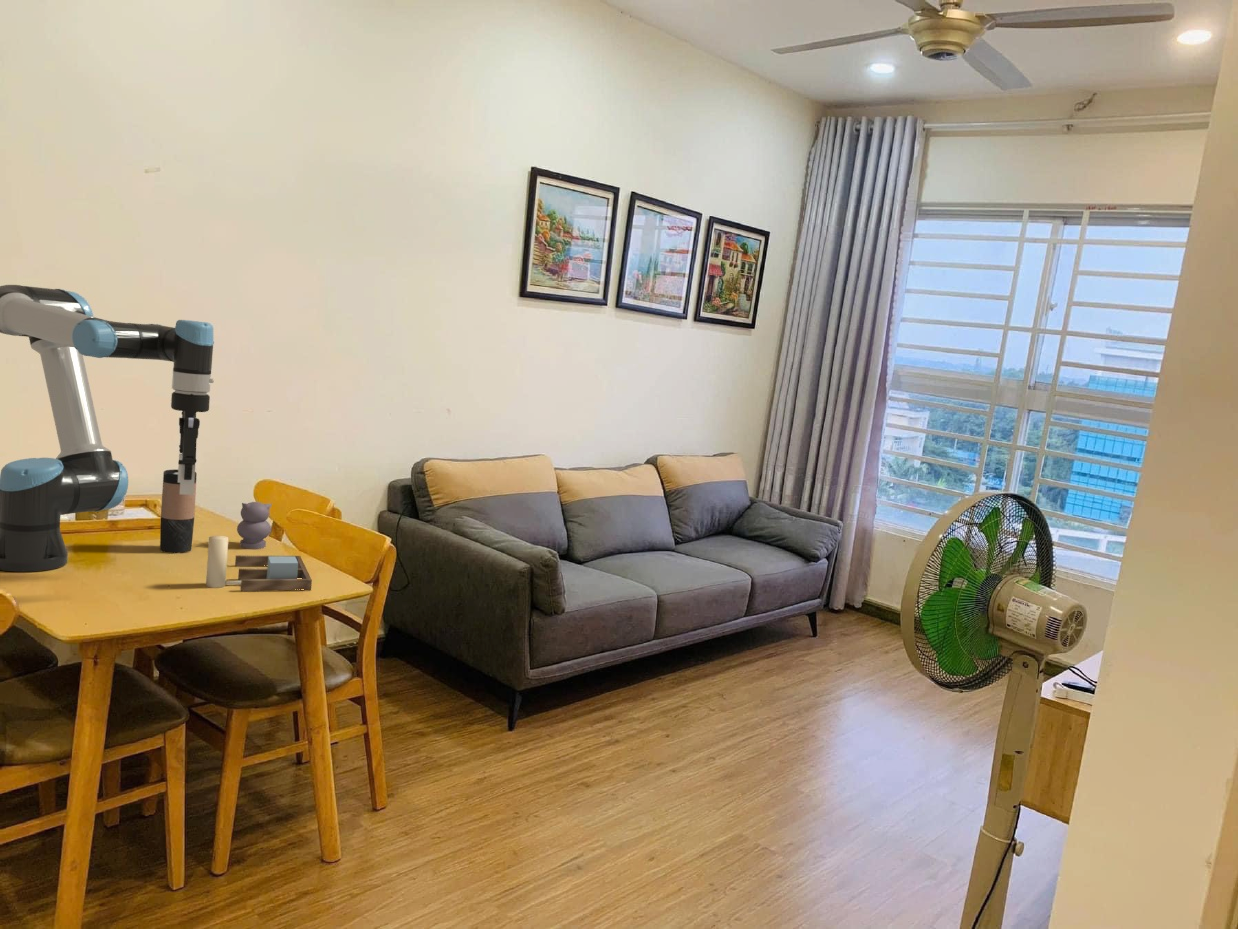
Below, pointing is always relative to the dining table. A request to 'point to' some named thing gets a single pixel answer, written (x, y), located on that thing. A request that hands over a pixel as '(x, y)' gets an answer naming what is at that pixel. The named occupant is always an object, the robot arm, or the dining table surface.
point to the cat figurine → (254, 525)
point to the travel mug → (176, 515)
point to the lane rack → (258, 577)
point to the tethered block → (218, 561)
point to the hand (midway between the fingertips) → (185, 488)
